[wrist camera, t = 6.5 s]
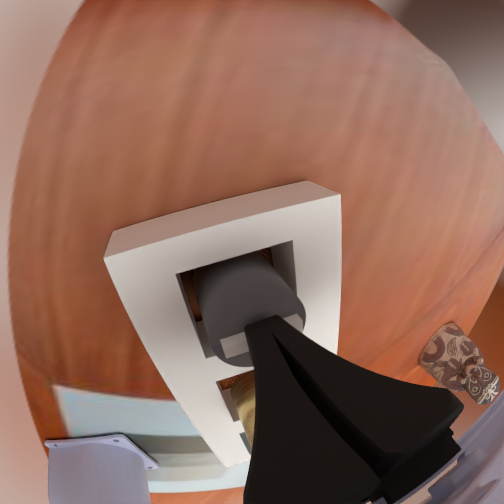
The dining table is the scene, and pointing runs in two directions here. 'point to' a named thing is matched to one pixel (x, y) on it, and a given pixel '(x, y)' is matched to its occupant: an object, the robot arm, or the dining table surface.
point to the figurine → (459, 364)
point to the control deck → (214, 250)
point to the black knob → (242, 302)
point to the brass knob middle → (245, 402)
